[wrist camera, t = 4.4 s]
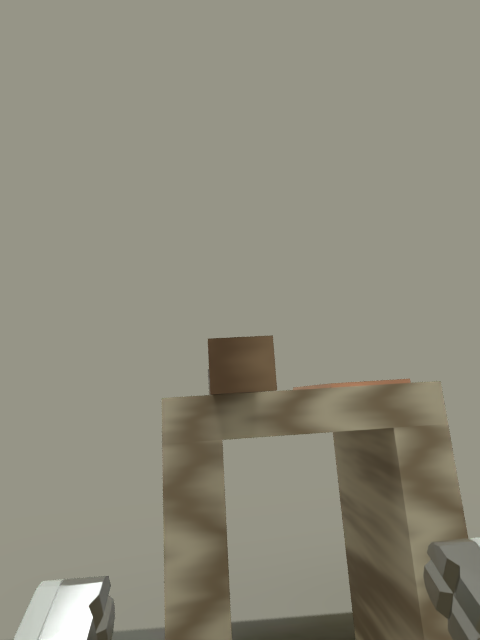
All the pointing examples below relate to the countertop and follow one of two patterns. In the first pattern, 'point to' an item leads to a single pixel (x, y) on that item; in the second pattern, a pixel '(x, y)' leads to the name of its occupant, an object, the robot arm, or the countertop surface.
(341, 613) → the countertop surface
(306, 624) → the countertop surface
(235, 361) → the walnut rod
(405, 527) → the birch shelf
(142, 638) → the countertop surface
